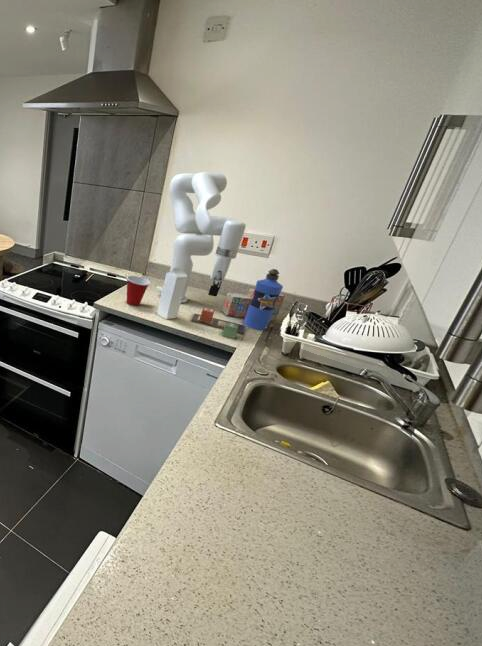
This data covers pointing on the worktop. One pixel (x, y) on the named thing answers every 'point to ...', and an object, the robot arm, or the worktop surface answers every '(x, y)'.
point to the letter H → (207, 314)
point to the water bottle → (263, 301)
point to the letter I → (230, 330)
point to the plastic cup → (136, 289)
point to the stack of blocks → (246, 304)
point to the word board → (216, 323)
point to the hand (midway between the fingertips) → (213, 292)
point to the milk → (172, 293)
